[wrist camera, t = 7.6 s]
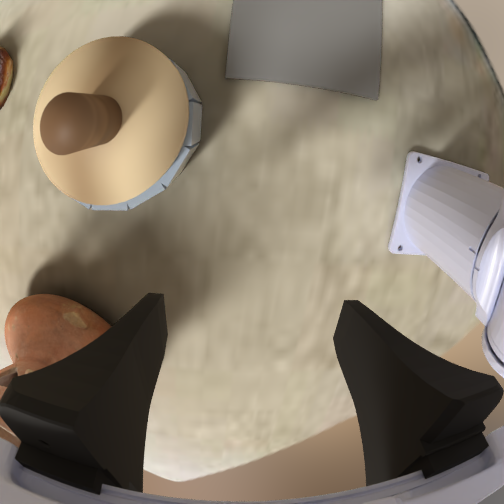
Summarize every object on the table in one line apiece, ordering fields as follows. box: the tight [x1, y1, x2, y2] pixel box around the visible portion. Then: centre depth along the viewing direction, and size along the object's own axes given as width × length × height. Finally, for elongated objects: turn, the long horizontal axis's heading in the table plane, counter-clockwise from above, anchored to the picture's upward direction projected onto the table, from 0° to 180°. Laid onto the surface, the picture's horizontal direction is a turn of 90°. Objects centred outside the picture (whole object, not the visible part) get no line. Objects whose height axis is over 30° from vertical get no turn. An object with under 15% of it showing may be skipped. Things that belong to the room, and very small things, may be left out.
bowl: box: [61, 57, 203, 211], centre depth 15 cm, size 9×9×4 cm
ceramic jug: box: [0, 294, 112, 448], centre depth 18 cm, size 18×14×14 cm
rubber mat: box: [225, 0, 382, 100], centre depth 14 cm, size 10×10×1 cm
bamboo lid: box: [33, 36, 189, 205], centre depth 11 cm, size 9×9×4 cm
